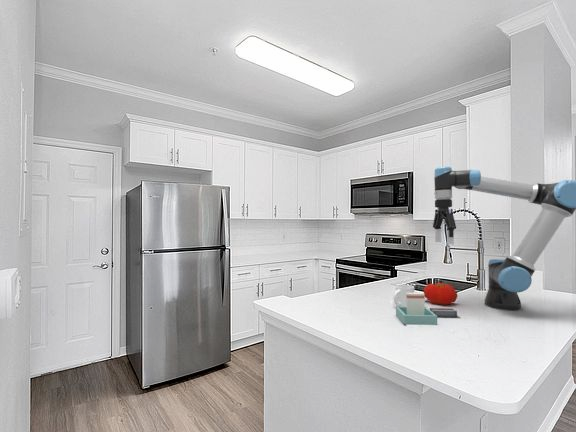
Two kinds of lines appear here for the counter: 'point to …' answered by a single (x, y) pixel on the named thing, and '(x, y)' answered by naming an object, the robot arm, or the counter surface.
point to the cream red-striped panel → (415, 304)
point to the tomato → (440, 293)
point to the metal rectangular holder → (444, 312)
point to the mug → (402, 294)
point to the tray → (416, 317)
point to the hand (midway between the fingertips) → (444, 243)
